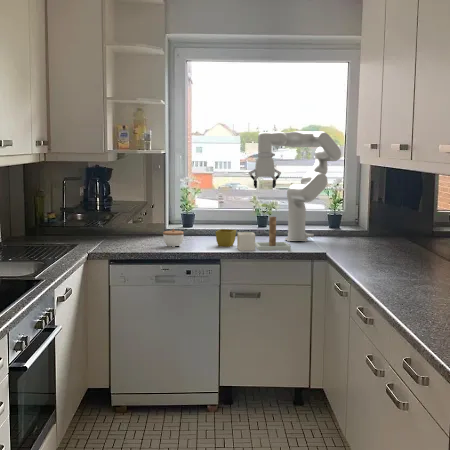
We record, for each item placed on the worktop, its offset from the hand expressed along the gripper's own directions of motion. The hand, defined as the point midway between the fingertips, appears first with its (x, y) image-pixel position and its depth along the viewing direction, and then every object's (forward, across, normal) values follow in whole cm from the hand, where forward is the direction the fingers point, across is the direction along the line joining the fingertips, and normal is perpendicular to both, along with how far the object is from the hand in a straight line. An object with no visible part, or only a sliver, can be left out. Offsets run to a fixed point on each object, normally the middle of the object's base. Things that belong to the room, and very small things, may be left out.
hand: (264, 187), depth 342 cm
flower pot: (+31, +22, +11) cm, 39 cm away
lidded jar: (+31, +49, +5) cm, 58 cm away
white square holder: (+30, +13, +23) cm, 40 cm away
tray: (+30, -1, +20) cm, 36 cm away
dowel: (+30, -1, +20) cm, 35 cm away
